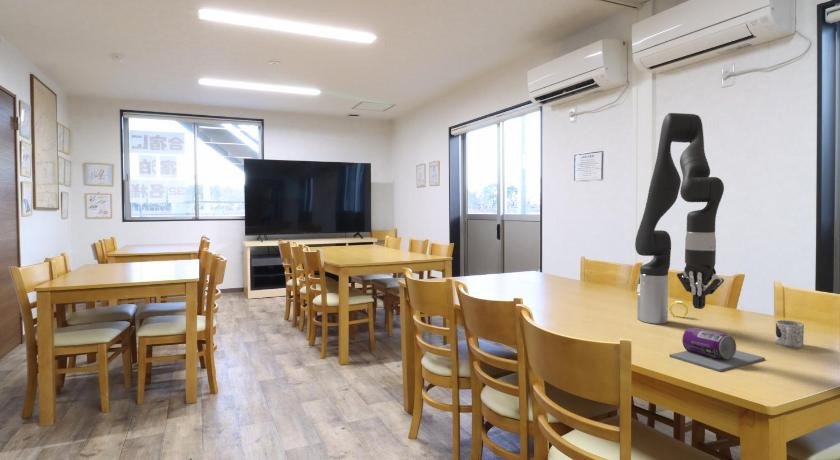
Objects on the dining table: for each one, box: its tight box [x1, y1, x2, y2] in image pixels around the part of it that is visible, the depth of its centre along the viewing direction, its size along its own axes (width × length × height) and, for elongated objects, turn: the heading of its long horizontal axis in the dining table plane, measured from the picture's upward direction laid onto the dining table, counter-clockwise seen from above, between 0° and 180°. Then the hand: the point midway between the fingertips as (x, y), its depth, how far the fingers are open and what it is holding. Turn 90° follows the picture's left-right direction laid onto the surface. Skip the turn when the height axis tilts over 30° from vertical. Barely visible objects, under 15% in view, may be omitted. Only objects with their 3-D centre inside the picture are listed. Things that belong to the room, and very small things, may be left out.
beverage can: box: [681, 326, 737, 359], centre depth 134 cm, size 7×7×12 cm
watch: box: [669, 300, 689, 319], centre depth 182 cm, size 6×3×6 cm, turn 53°
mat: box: [669, 349, 766, 373], centre depth 133 cm, size 14×20×1 cm
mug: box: [775, 319, 805, 349], centre depth 144 cm, size 10×7×7 cm
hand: (698, 308), depth 137 cm, fingers closed
